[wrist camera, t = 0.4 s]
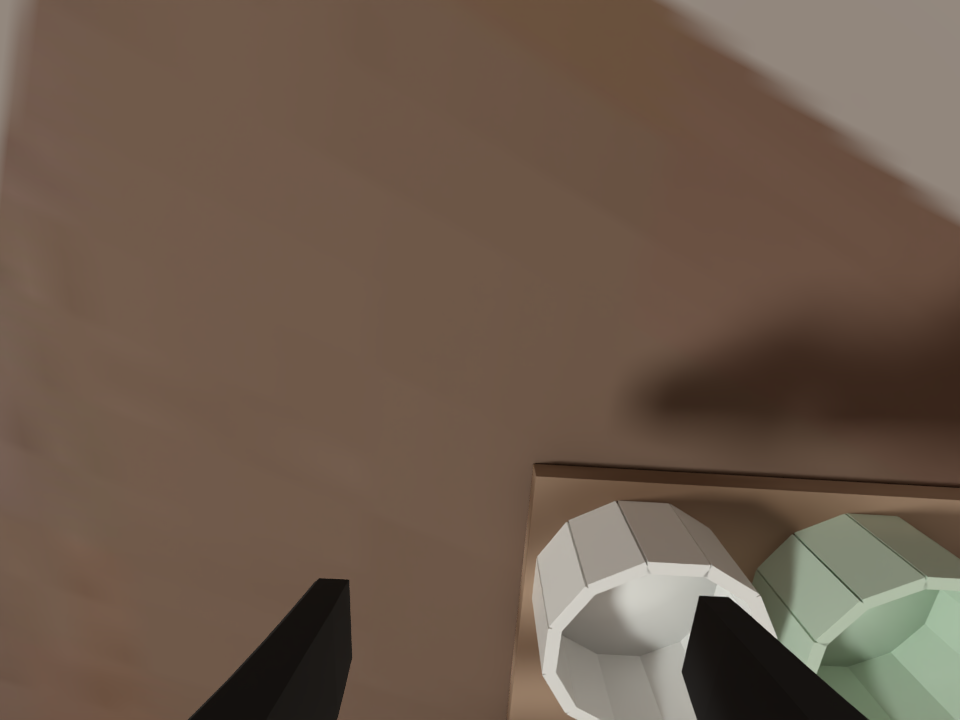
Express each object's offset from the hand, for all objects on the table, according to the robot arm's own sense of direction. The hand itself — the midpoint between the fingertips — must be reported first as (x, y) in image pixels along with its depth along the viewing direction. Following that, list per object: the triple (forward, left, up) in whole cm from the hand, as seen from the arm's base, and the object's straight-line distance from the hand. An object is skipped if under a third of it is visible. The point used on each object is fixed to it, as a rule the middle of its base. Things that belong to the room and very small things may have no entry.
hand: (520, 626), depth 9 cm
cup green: (-7, -16, -9) cm, 19 cm away
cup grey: (-7, -6, -9) cm, 12 cm away
